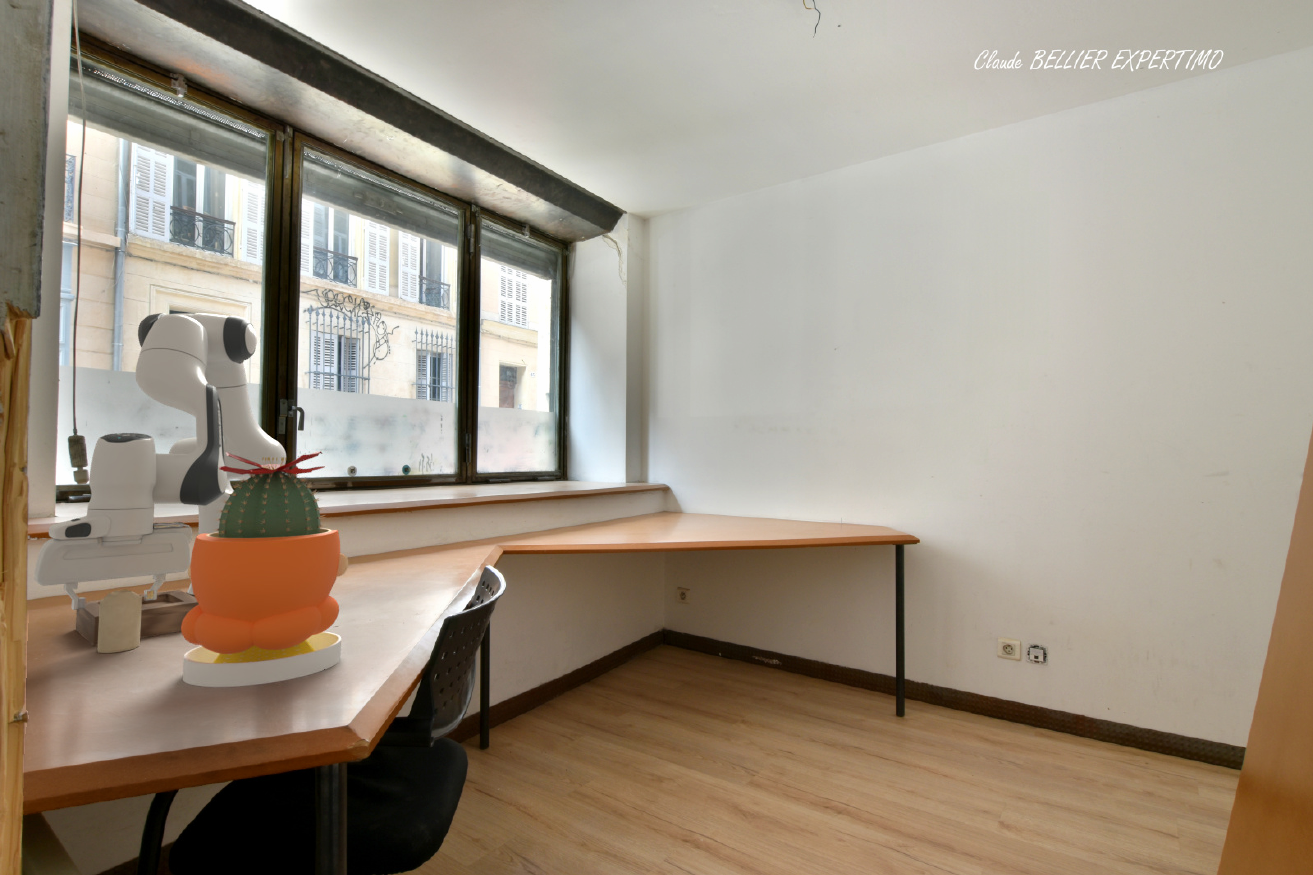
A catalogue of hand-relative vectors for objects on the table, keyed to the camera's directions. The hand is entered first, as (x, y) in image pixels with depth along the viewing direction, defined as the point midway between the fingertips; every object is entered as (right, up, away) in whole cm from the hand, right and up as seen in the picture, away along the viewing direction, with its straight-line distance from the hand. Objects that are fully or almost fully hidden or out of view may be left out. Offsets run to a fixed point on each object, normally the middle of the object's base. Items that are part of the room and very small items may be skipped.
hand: (115, 604), depth 104 cm
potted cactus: (+33, -8, -10) cm, 35 cm away
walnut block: (-7, -9, +13) cm, 17 cm away
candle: (0, -8, 0) cm, 8 cm away
